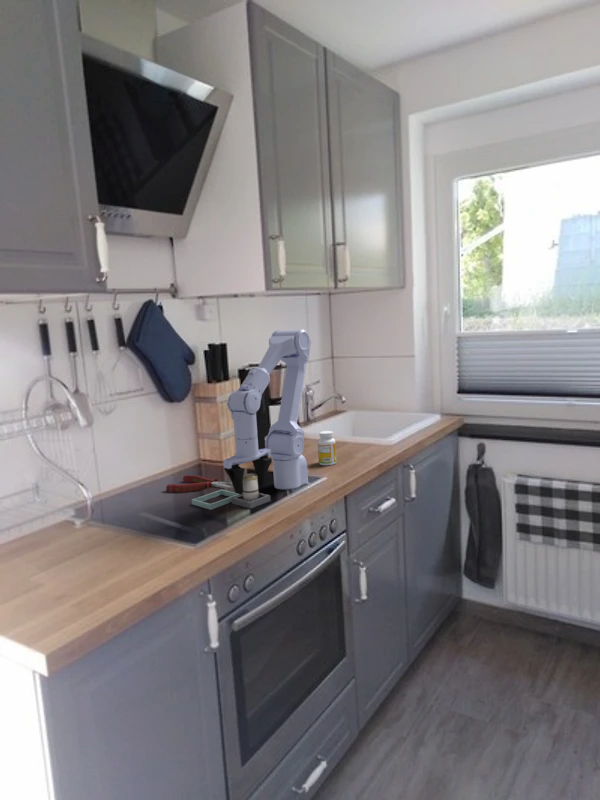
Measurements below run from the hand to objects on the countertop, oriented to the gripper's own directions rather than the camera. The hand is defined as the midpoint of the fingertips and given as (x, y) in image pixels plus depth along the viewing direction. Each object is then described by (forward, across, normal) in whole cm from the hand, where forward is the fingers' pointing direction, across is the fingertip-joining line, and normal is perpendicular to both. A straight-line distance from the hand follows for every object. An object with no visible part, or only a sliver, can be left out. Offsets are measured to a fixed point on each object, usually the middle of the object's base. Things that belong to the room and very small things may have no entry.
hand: (250, 489), depth 149 cm
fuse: (+3, 0, 0) cm, 3 cm away
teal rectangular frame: (+4, +4, -8) cm, 10 cm away
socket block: (+4, 0, 0) cm, 4 cm away
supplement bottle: (+4, -42, -9) cm, 43 cm away
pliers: (+5, -2, -24) cm, 24 cm away
